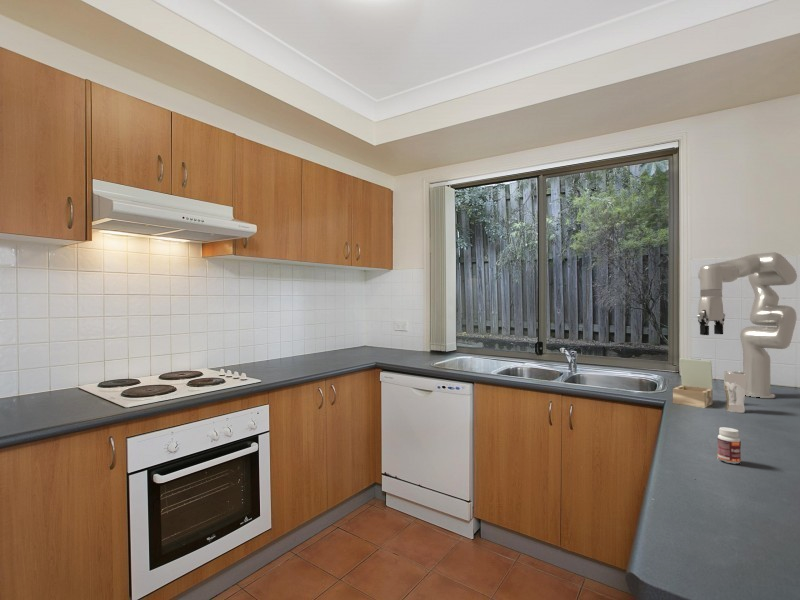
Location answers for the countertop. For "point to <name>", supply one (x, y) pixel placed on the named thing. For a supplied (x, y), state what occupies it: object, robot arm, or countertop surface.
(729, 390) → the beer glass
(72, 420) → the countertop surface
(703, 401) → the light wooden box
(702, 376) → the box lid
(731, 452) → the pill bottle
